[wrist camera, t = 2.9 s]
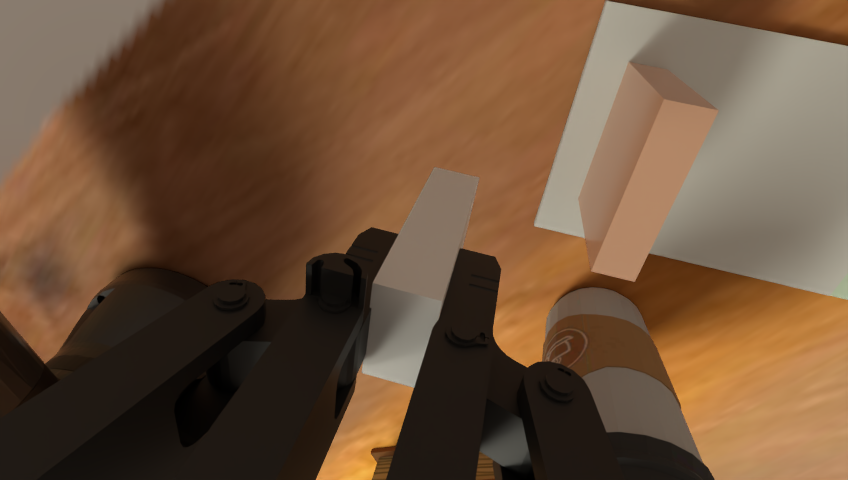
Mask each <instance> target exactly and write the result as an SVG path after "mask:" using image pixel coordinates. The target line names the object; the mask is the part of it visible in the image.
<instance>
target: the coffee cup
mask: <svg viewBox="0 0 848 480" xmlns="http://www.w3.org/2000/svg"><path fill="white" fill-rule="evenodd" d="M545 361H550V362H554V363H559V364H562V365H564V366H566V367H568V368H570V369H572V370H573V371H575V372H576V373H577V374H578V375H579V376H580V377H581V378H582V379H584V381H585V383H586V384H587V386H588V387H589V389H590V391H591V394H592V396H593V399H594V401H595V404H596V406H597V409H598V412H599V414H600V417H601V419H602V422H603V424H604V427H605V429H606V432H607V435H608V437H609V440H610V442H611V445H612V447H613V450H614V452H615V455H616V458H617V460H618V463H619V465H620V468H621V470H622V473H623V476H624V478H625V480H714V478H713V476H712V474H711V472H710V471H709V469H708V467H707V466H705V465H704V464H703V462H702V459H701V457H700V455H699V452H698V450H697V447H696V445H695V443H694V440H693V438H692V435H691V433H690V431H689V428H688V426H687V423H686V421H685V419H684V416H683V414H682V411H681V406H680V402H679V400H678V398H677V395H676V393H675V391H674V388H673V386H672V383H671V381H670V379H669V376H668V374H667V372H666V369H665V367H664V365H663V362H662V360H661V357H660V355H659V353H658V350H657V348H656V346H655V344H654V342H653V341H652V339H651V337H650V334H649V332H648V330H647V327H646V325H645V322H644V320H643V318H642V315H641V314H640V312H639V310H638V308H637V307H636V306H635V305H634V304H633V303H632V302H631V301H630V300H629V299H627V298H626V297H624V296H622V295H621V294H619V293H617V292H615V291H612V290H609V289H605V288H596V287H589V288H582V289H578V290H575V291H573V292H570V293H568V294H567V295H565V296H564V297H562V298H561V299H560V300H559V301H558V302H557V303H556V304H555V305H554V307H553V308H552V309H551V310H550V312H549V315H548V317H547V322H546V335H545V342H544V345H543V357H542V362H545Z"/></svg>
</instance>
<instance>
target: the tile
mask: <svg viewBox="0 0 848 480" xmlns="http://www.w3.org/2000/svg"><path fill="white" fill-rule="evenodd" d="M718 112H719V110H718V109H717V108H715V107H714V106H713V105H712V104H710V103H709V102H708V101H707V100H705V99H704V98H703V97H702V96H700V95H699V94H698V93H697V92H695V91H694V90H693V89H692V88H690V87H689V86H688V85H687V84H685V83H684V82H683V81H682V80H680V79H679V78H678V77H677V76H675V75H674V74H673V73H672V72H670V71H669V70H668V69H663V68H658V67H653V66H648V65H643V64H638V63H633V62H628V64H627V67H626V70H625V73H624V75H623V78H622V81H621V83H620V86H619V89H618V92H617V94H616V97H615V100H614V102H613V105H612V108H611V111H610V113H609V116H608V119H607V121H606V124H605V127H604V130H603V132H602V135H601V138H600V140H599V143H598V146H597V148H596V151H595V154H594V157H593V159H592V162H591V165H590V167H589V170H588V173H587V176H586V178H585V181H584V184H583V186H582V189H581V192H580V195H579V197H578V201H579V207H580V212H581V218H582V224H583V229H584V235H585V241H586V246H587V252H588V257H589V263H590V269H591V272H596V273H600V274H604V275H608V276H612V277H616V278H620V279H625V280H629V281H633V282H635V280H636V278H637V276H638V274H639V272H640V270H641V268H642V266H643V264H644V262H645V260H646V258H647V256H648V254H649V252H650V250H651V248H652V246H653V244H654V242H655V240H656V238H657V236H658V234H659V232H660V229H661V227H662V225H663V223H664V221H665V219H666V217H667V215H668V213H669V211H670V209H671V207H672V205H673V203H674V201H675V199H676V197H677V195H678V193H679V191H680V189H681V187H682V185H683V183H684V181H685V179H686V177H687V175H688V173H689V171H690V169H691V166H692V164H693V162H694V160H695V158H696V156H697V154H698V152H699V150H700V148H701V146H702V144H703V142H704V140H705V138H706V136H707V134H708V132H709V130H710V128H711V126H712V124H713V122H714V120H715V118H716V116H717V114H718Z"/></svg>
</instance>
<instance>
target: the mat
mask: <svg viewBox="0 0 848 480" xmlns="http://www.w3.org/2000/svg"><path fill="white" fill-rule="evenodd" d="M628 62H633V63H638V64H643V65H648V66H653V67H658V68H663V69H668V70H669V71H670V72H672V73H673V74H674V75H675V76H677V77H678V78H679V79H680V80H682V81H683V82H684V83H685V84H687V85H688V86H689V87H690V88H692V89H693V90H694V91H695V92H697V93H698V94H699V95H700V96H702V97H703V98H704V99H705V100H707V101H708V102H709V103H710V104H712V105H713V106H714V107H715V108H717V109H718V110H719V112H718V114H717V116H716V118H715V120H714V122H713V124H712V126H711V128H710V130H709V132H708V134H707V136H706V138H705V140H704V142H703V144H702V146H701V148H700V150H699V152H698V154H697V156H696V158H695V160H694V162H693V164H692V166H691V169H690V171H689V173H688V175H687V177H686V179H685V181H684V183H683V185H682V187H681V189H680V191H679V193H678V195H677V197H676V199H675V201H674V203H673V205H672V207H671V209H670V211H669V213H668V215H667V217H666V219H665V221H664V223H663V225H662V227H661V229H660V232H659V234H658V236H657V238H656V240H655V242H654V244H653V246H652V248H651V250H650V252H649V253H650V254H655V255H659V256H663V257H667V258H671V259H676V260H680V261H684V262H688V263H693V264H697V265H701V266H705V267H710V268H714V269H718V270H722V271H727V272H731V273H735V274H739V275H744V276H748V277H752V278H756V279H761V280H765V281H769V282H773V283H777V284H782V285H786V286H790V287H794V288H799V289H803V290H807V291H811V292H816V293H820V294H824V295H828V296H834V297H838V298H842V299H847V300H848V46H846V45H841V44H836V43H830V42H825V41H820V40H814V39H809V38H804V37H799V36H793V35H788V34H783V33H777V32H772V31H767V30H761V29H756V28H751V27H745V26H740V25H735V24H729V23H724V22H719V21H714V20H708V19H703V18H698V17H692V16H687V15H682V14H676V13H671V12H666V11H660V10H655V9H650V8H644V7H639V6H634V5H629V4H623V3H618V2H613V1H607V0H606V1H605V4H604V7H603V10H602V13H601V16H600V19H599V22H598V26H597V29H596V32H595V35H594V38H593V41H592V44H591V47H590V50H589V53H588V57H587V60H586V63H585V66H584V69H583V72H582V75H581V78H580V81H579V84H578V88H577V91H576V94H575V97H574V100H573V103H572V106H571V109H570V112H569V115H568V119H567V122H566V125H565V128H564V131H563V134H562V137H561V140H560V143H559V146H558V150H557V153H556V156H555V159H554V162H553V165H552V168H551V171H550V174H549V177H548V181H547V184H546V187H545V190H544V193H543V196H542V199H541V202H540V205H539V208H538V211H537V215H536V218H535V221H534V226H536V227H540V228H544V229H548V230H553V231H557V232H561V233H565V234H570V235H574V236H578V237H582V238H585V235H584V229H583V224H582V218H581V212H580V207H579V201H578V197H579V195H580V192H581V189H582V186H583V184H584V181H585V178H586V176H587V173H588V170H589V167H590V165H591V162H592V159H593V157H594V154H595V151H596V148H597V146H598V143H599V140H600V138H601V135H602V132H603V130H604V127H605V124H606V121H607V119H608V116H609V113H610V111H611V108H612V105H613V102H614V100H615V97H616V94H617V92H618V89H619V86H620V83H621V81H622V78H623V75H624V73H625V70H626V67H627V64H628Z"/></svg>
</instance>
